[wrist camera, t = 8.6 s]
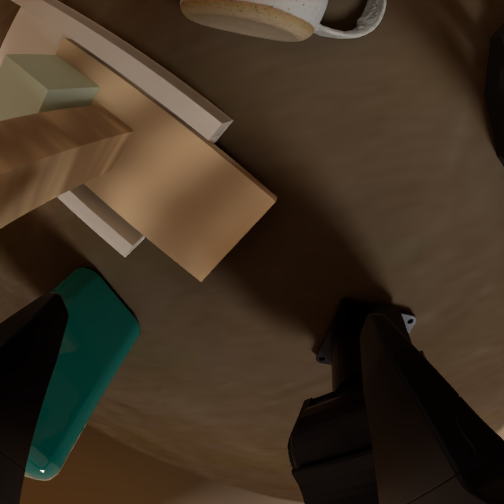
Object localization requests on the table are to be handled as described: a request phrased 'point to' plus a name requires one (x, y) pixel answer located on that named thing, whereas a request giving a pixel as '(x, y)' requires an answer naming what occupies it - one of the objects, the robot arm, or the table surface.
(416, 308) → the table surface
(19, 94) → the block
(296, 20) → the ceramic mug
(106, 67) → the wooden stair steps
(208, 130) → the lane board
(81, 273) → the green bottle
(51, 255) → the table surface
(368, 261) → the table surface
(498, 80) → the lantern
